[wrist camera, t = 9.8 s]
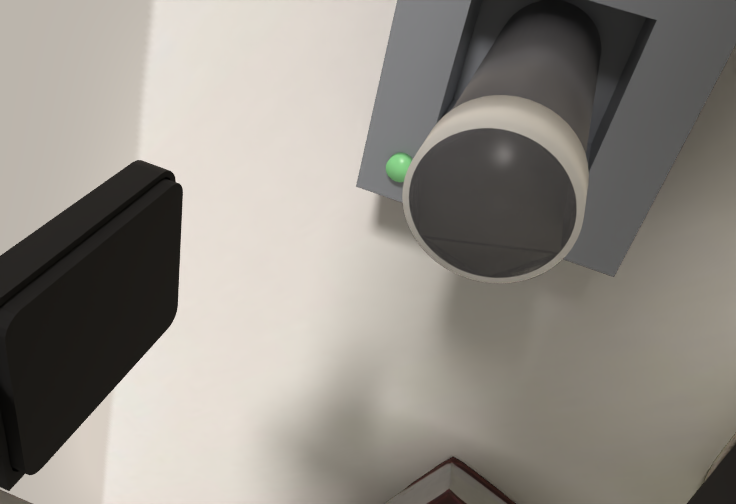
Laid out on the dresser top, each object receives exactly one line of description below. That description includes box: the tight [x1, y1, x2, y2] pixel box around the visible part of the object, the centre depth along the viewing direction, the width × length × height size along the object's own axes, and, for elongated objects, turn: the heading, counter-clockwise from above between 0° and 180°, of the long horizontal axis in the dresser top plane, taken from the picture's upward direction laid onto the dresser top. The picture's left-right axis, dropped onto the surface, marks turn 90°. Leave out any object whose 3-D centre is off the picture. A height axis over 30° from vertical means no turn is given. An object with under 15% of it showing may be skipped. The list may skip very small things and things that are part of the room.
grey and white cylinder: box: [402, 0, 601, 283], centre depth 20 cm, size 4×4×12 cm
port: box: [356, 0, 736, 277], centre depth 24 cm, size 12×10×4 cm
